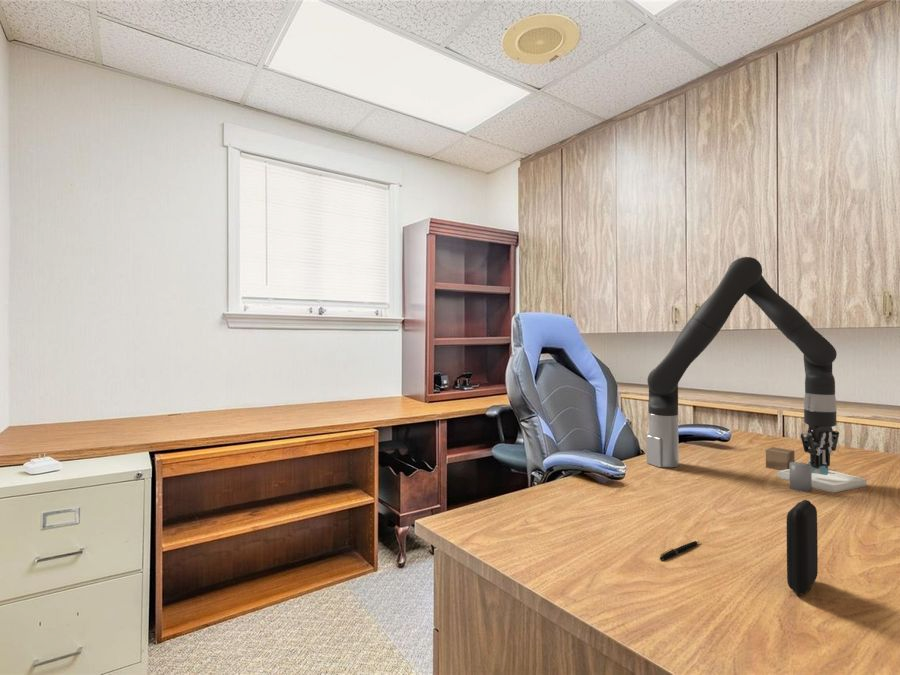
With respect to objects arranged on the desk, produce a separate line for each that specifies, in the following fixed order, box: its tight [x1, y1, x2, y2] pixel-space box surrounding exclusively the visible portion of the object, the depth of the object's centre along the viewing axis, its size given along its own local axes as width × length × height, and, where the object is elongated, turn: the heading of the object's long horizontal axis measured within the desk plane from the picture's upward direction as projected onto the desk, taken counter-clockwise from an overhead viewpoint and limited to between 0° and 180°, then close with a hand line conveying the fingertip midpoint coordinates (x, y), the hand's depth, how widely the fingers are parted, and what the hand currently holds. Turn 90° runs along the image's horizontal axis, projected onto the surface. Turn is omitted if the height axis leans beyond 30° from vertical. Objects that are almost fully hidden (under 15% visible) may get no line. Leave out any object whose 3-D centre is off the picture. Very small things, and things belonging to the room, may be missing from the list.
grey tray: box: [777, 469, 868, 494], centre depth 137 cm, size 15×15×2 cm
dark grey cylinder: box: [789, 461, 813, 493], centre depth 131 cm, size 5×5×7 cm
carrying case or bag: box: [786, 499, 819, 596], centre depth 82 cm, size 11×3×15 cm, turn 131°
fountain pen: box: [659, 540, 701, 561], centre depth 95 cm, size 14×1×2 cm, turn 122°
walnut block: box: [765, 446, 796, 471], centre depth 152 cm, size 6×6×6 cm
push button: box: [807, 441, 836, 475], centre depth 137 cm, size 7×5×10 cm
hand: (820, 466), depth 137 cm, fingers closed on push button, 3 cm apart
